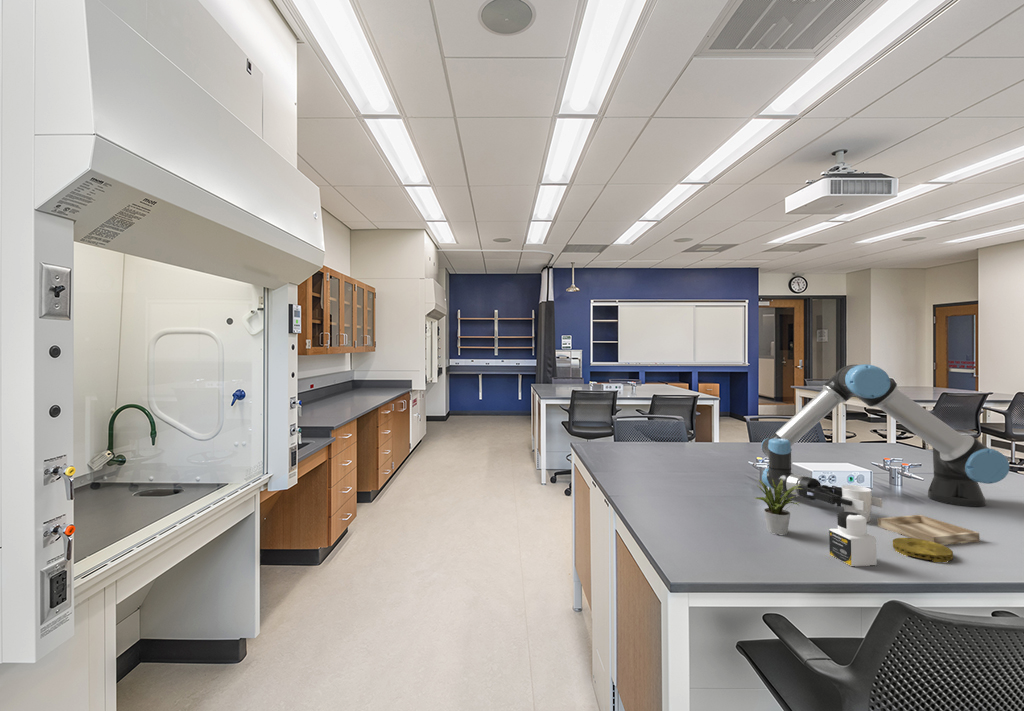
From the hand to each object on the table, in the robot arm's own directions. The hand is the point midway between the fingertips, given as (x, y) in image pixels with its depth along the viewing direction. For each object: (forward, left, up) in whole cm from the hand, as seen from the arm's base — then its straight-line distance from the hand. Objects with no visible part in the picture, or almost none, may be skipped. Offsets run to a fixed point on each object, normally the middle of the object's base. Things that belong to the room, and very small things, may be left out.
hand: (872, 504), depth 145 cm
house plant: (+35, +1, -6) cm, 35 cm away
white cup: (+1, -5, -6) cm, 8 cm away
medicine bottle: (+31, +21, -6) cm, 38 cm away
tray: (-7, +10, -6) cm, 14 cm away
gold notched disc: (+9, +21, -7) cm, 24 cm away
